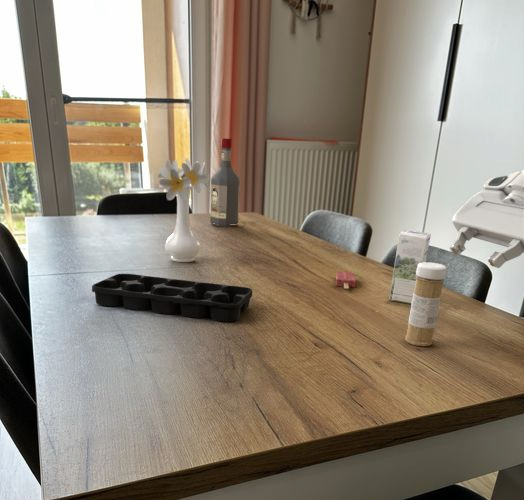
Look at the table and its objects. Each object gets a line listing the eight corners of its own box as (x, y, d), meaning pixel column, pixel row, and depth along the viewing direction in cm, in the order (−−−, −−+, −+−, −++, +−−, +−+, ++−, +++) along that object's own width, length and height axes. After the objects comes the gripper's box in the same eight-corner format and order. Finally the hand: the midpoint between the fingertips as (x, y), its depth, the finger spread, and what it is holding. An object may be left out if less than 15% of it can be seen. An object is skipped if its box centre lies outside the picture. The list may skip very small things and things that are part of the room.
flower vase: (157, 268, 125) (154, 159, 116) (161, 252, 142) (159, 156, 133) (210, 269, 127) (212, 162, 118) (208, 253, 144) (210, 158, 135)
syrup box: (419, 299, 113) (431, 232, 107) (415, 305, 108) (427, 236, 102) (393, 294, 115) (404, 229, 109) (388, 301, 110) (398, 232, 104)
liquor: (226, 222, 199) (229, 138, 188) (241, 225, 193) (244, 139, 181) (207, 223, 194) (208, 137, 182) (221, 227, 187) (223, 138, 176)
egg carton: (109, 288, 107) (108, 271, 106) (253, 297, 107) (253, 279, 106) (80, 315, 91) (78, 294, 89) (249, 325, 91) (250, 304, 89)
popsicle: (336, 283, 114) (335, 269, 128) (336, 291, 114) (335, 276, 128) (357, 285, 113) (354, 271, 127) (356, 293, 114) (353, 278, 128)
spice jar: (423, 337, 90) (437, 261, 85) (437, 346, 86) (453, 268, 81) (399, 338, 89) (412, 261, 84) (413, 348, 85) (427, 268, 80)
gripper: (595, 222, 77) (527, 287, 77) (496, 204, 95) (442, 257, 95) (582, 190, 74) (512, 258, 74) (482, 177, 91) (426, 232, 92)
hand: (472, 257), depth 85 cm, fingers open, 8 cm apart
